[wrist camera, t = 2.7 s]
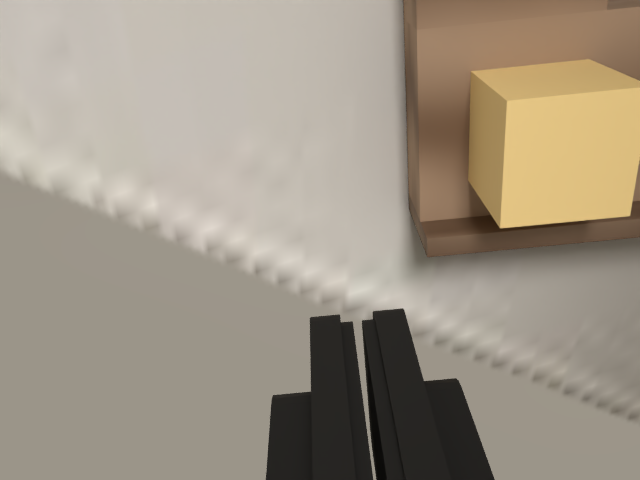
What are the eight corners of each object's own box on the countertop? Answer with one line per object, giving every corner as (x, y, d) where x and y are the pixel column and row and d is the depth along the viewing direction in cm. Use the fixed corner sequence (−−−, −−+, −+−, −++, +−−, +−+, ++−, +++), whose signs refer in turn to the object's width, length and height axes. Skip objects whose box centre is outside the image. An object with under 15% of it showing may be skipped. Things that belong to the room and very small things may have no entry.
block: (470, 71, 21) (506, 100, 17) (589, 59, 21) (652, 86, 17) (468, 180, 23) (500, 228, 19) (576, 169, 22) (629, 215, 19)
